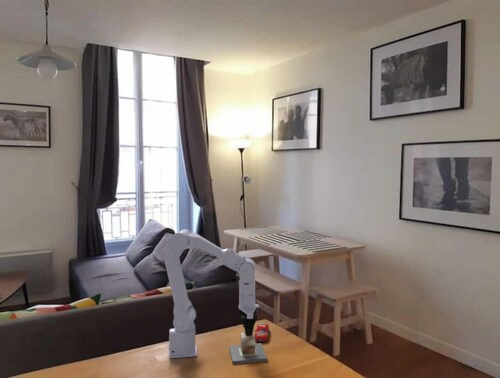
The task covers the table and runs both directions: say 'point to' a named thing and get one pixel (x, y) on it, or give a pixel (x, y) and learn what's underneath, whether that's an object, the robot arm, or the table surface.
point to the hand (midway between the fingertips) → (247, 331)
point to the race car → (262, 332)
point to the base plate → (249, 358)
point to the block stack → (247, 344)
